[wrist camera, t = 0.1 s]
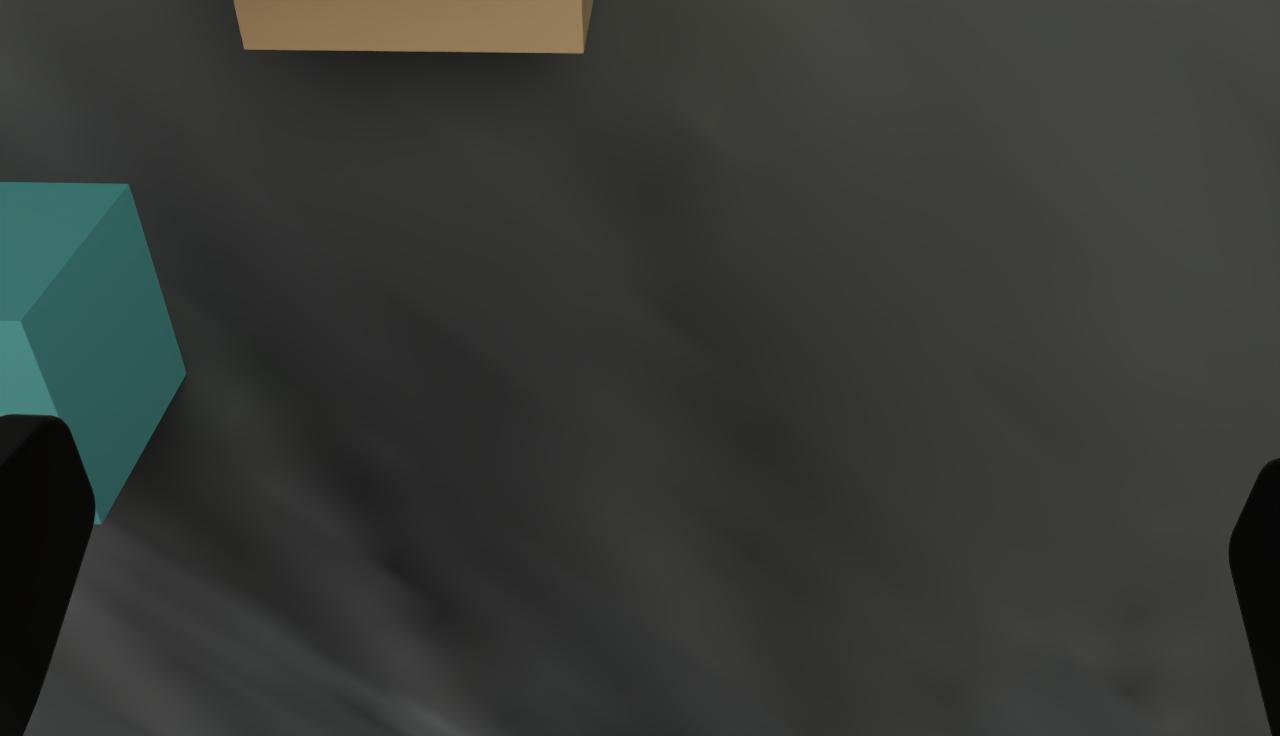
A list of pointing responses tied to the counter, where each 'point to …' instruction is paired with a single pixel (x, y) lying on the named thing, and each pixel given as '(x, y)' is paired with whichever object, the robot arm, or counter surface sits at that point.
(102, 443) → the teal cube
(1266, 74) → the counter surface
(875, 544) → the counter surface
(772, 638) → the counter surface
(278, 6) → the walnut cube
